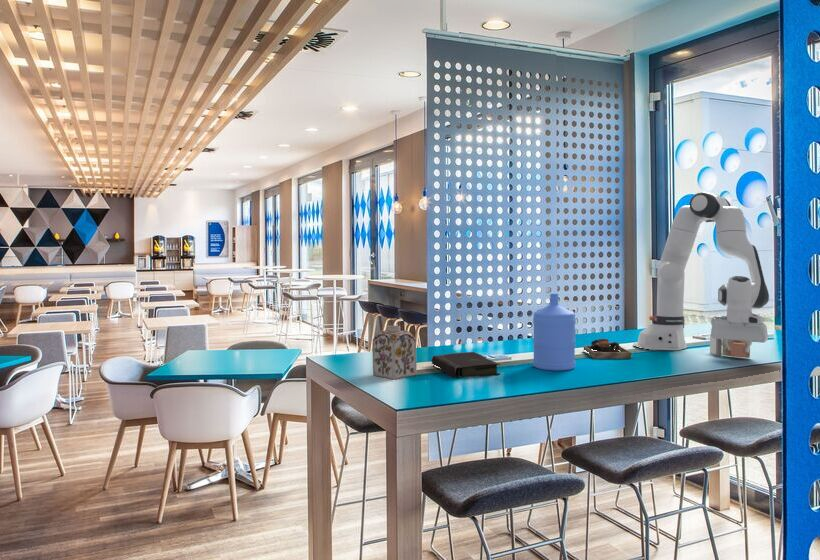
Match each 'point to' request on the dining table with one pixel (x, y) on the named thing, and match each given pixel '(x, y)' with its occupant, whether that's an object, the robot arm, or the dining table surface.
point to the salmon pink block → (738, 350)
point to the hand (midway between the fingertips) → (738, 351)
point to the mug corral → (609, 354)
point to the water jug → (554, 337)
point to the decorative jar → (394, 354)
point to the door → (728, 353)
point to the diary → (465, 364)
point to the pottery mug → (604, 345)
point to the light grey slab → (715, 346)
